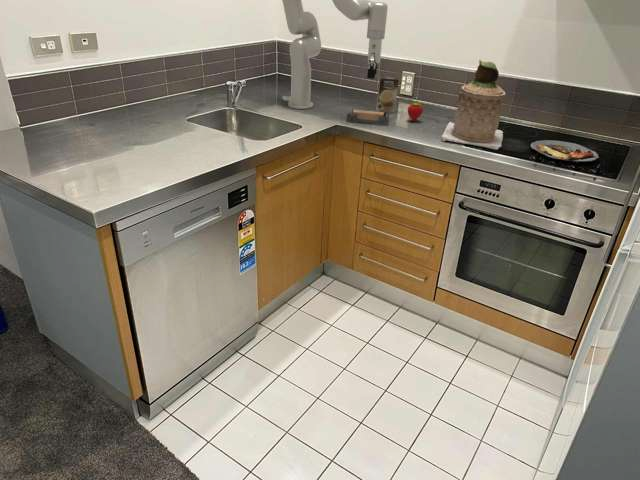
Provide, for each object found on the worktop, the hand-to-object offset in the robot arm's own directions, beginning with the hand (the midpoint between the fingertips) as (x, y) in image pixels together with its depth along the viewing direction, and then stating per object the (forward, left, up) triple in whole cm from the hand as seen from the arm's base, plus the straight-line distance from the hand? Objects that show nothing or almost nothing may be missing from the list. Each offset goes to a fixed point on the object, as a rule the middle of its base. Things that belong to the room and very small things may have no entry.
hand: (371, 76), depth 215 cm
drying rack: (0, 0, -20) cm, 20 cm away
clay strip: (0, 0, -19) cm, 19 cm away
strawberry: (+21, +6, -20) cm, 30 cm away
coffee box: (+7, +20, -20) cm, 29 cm away
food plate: (+81, -22, -21) cm, 86 cm away
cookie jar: (+46, -11, -20) cm, 52 cm away
